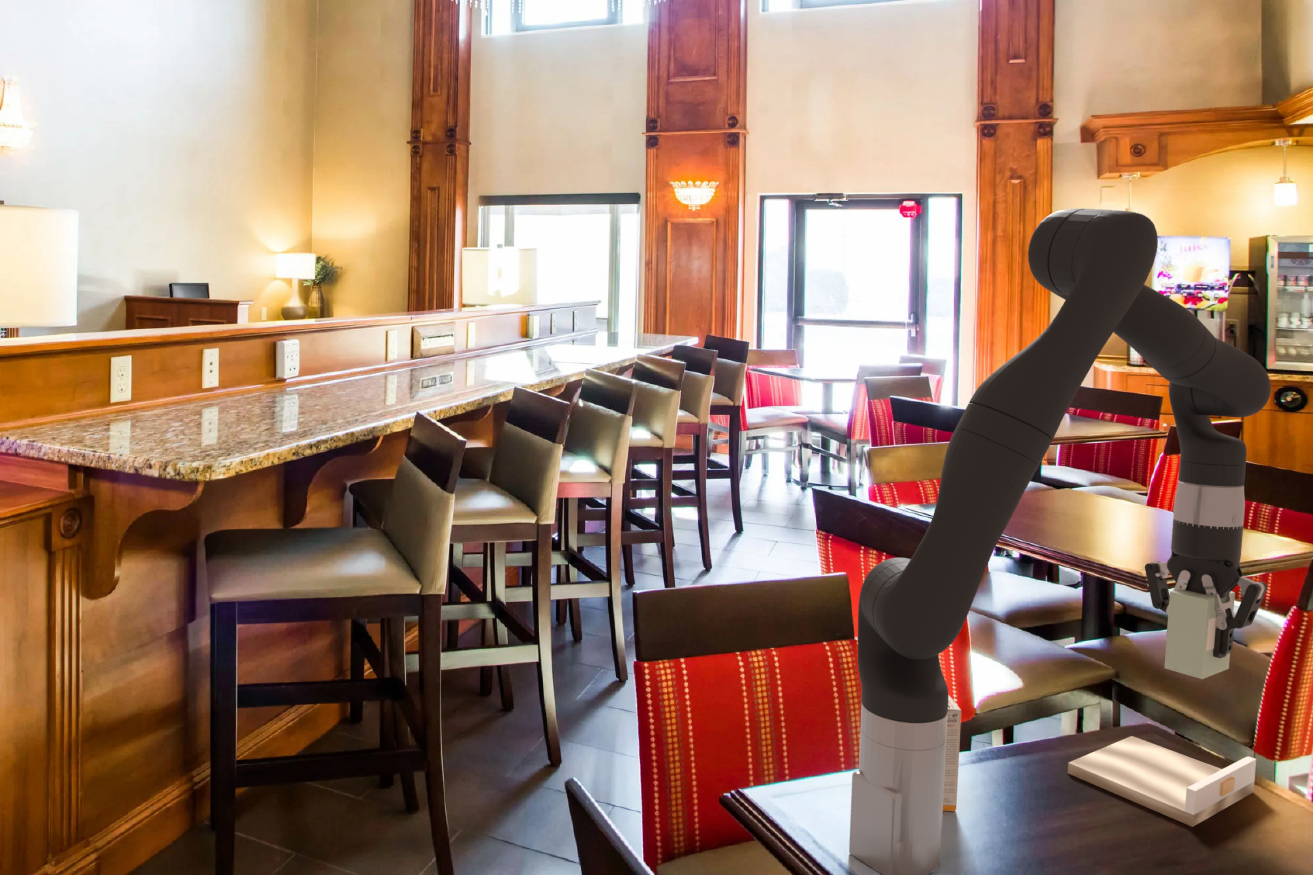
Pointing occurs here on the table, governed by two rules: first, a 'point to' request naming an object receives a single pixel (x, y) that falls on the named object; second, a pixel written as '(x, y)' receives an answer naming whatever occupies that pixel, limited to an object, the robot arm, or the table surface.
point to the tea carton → (1193, 635)
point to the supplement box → (952, 756)
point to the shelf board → (1166, 779)
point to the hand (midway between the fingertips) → (1197, 650)
